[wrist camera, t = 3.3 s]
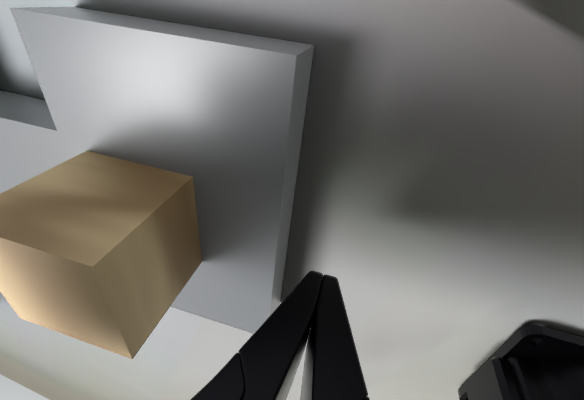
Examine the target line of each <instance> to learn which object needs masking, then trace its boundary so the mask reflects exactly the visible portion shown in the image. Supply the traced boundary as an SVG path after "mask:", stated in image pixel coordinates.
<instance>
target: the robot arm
mask: <svg viewBox="0 0 584 400" xmlns="http://www.w3.org/2000/svg"><path fill="white" fill-rule="evenodd" d="M309 332H310V333H309ZM308 336H309V337H308ZM307 340H308V342H307ZM306 343H307V347H306V354H305V363H304V371H303V380H302V388H301V397H300V400H370V399H369V397H367V395H368V392H367V389H366V385H365V381H364V377H363V373H362V370H361V366H360V362H359V358H358V355H357V351H356V347H355V343H354V339H353V336H352V332H351V328H350V324H349V320H348V317H347V313H346V309H345V305H344V301H343V298H342V294H341V290H340V286H339V283H338V279H337V278H336V277H333V276H330V275H324V276H323V274H322V273H319V272H316V271H310V272H309V273H308V274H307V275H306V276H305V277H304V278H303V279H302V280H301V282H300V283H299V284H298V285H297V286H296V287H295V288H294V289H293V290H292V292H291V293H290V294H289V295H288V296H287V297H286V298H285V299H284V301H283V302H282V303H281V304H280V305H279V306H278V307H277V308H276V310H275V311H274V312H273V313H272V314H271V315H270V316H269V317H268V318H267V320H266V321H265V322H264V323H263V324H262V325H261V326H260V327H259V329H258V330H257V331H256V332H255V333H254V334H253V335H252V336H251V338H250V339H249V340H248V341H247V342H246V343H245V344H244V345H243V347H242V348H241V349H240V350H239V353H236V354H235V355H234V356H233V357H232V359H231V360H230V361H229V362H228V363H227V364H226V365H225V366H224V367H223V368H222V369H221V371H220V372H219V373H218V374H217V375H216V376H215V377H214V378H213V379H212V380H211V381H210V382H209V383H208V384H207V385H206V386H205V387H204V388H202V389H201V390H200V391H199V392H198V393H197V394H196V395H195V396H194V397H193V398H192V399H191V400H286V398H287V395H288V393H289V390H290V387H291V385H292V382H293V379H294V376H295V374H296V371H297V368H298V366H299V363H300V360H301V358H302V355H303V352H304V349H305V346H306ZM458 393H459V399H460V400H584V338H583V337H580V336H576V335H573V334H569V333H565V332H562V331H558V330H555V329H551V328H547V327H544V326H540V325H526V326H523V327H521V328H520V329H518V330H517V331H516V332H515V333H514V334H513V335H512V336H511V337H510V338H509V339H508V340H507V341H506V342H505V343H504V344H503V345H502V346H501V347H500V348H499V349H498V350H497V351H496V352H495V353H494V354H493V355H492V356H491V357H490V358H489V359H488V360H487V361H486V362H485V363H484V364H483V365H482V366H481V367H480V368H479V369H478V370H477V371H476V372H475V373H474V374H473V375H472V376H471V377H470V378H469V379H468V380H467V381H466V382H465V383H464V384H463V385H462V386H461V387H460V388H459V389H458Z"/></svg>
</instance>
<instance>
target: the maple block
mask: <svg viewBox="0 0 584 400" xmlns="http://www.w3.org/2000/svg"><path fill="white" fill-rule="evenodd" d="M201 263H202V257H201V248H200V239H199V230H198V221H197V211H196V202H195V193H194V184H193V177H192V176H188V175H184V174H180V173H176V172H172V171H167V170H163V169H159V168H155V167H151V166H147V165H143V164H139V163H135V162H131V161H127V160H123V159H119V158H115V157H111V156H107V155H103V154H98V153H94V152H90V151H85V152H83V153H81V154H79V155H77V156H75V157H73V158H71V159H69V160H67V161H65V162H63V163H61V164H59V165H57V166H55V167H53V168H51V169H49V170H47V171H45V172H43V173H41V174H39V175H37V176H35V177H33V178H31V179H29V180H27V181H25V182H23V183H21V184H19V185H17V186H15V187H13V188H11V189H9V190H6V191H4V192H2V193H0V292H1V293H2V294H3V296H4V297H5V298H6V300H7V301H8V302H9V304H10V305H11V306H12V308H13V309H14V310H15V312H16V313H17V314H18V316H19V317H20V318H21V319H24V320H27V321H29V322H32V323H35V324H38V325H40V326H43V327H46V328H48V329H51V330H54V331H57V332H59V333H62V334H65V335H68V336H70V337H73V338H76V339H79V340H81V341H84V342H87V343H89V344H92V345H95V346H98V347H100V348H103V349H106V350H109V351H111V352H114V353H117V354H120V355H122V356H125V357H128V358H131V359H133V358H134V356H135V355H136V354H137V352H138V351H139V349H140V348H141V347H142V345H143V344H144V342H145V341H146V340H147V338H148V337H149V335H150V334H151V333H152V331H153V330H154V328H155V327H156V326H157V324H158V323H159V321H160V320H161V319H162V317H163V316H164V314H165V313H166V312H167V310H168V309H169V307H170V306H171V305H172V303H173V302H174V300H175V299H176V298H177V296H178V295H179V293H180V292H181V291H182V289H183V288H184V286H185V285H186V284H187V282H188V281H189V279H190V278H191V277H192V275H193V274H194V272H195V271H196V270H197V268H198V267H199V265H200V264H201Z"/></svg>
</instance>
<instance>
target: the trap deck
mask: <svg viewBox="0 0 584 400" xmlns="http://www.w3.org/2000/svg"><path fill="white" fill-rule="evenodd" d="M10 9H11V12H12V14H13V17H14V20H15V22H16V25H17V27H18V30H19V33H20V35H21V38H22V41H23V43H24V46H25V48H26V51H27V54H28V56H29V59H30V61H31V64H32V67H33V69H34V72H35V74H36V77H37V80H38V82H39V85H40V87H41V90H42V93H43V95H44V98H45V100H42V99H37V98H33V97H28V96H24V95H19V94H15V93H10V92H6V91H1V90H0V193H2V192H4V191H6V190H9V189H11V188H13V187H15V186H17V185H19V184H21V183H23V182H25V181H27V180H29V179H31V178H33V177H35V176H37V175H39V174H41V173H43V172H45V171H47V170H49V169H51V168H53V167H55V166H57V165H59V164H61V163H63V162H65V161H67V160H69V159H71V158H73V157H75V156H77V155H79V154H81V153H83V152H85V151H90V152H94V153H98V154H103V155H107V156H111V157H115V158H119V159H123V160H127V161H131V162H135V163H139V164H143V165H147V166H151V167H155V168H159V169H163V170H167V171H172V172H176V173H180V174H184V175H188V176H192V177H193V184H194V193H195V202H196V211H197V221H198V230H199V239H200V248H201V257H202V263H201V264H200V265H199V267H198V268H197V270H196V271H195V272H194V274H193V275H192V277H191V278H190V279H189V281H188V282H187V284H186V285H185V286H184V288H183V289H182V291H181V292H180V293H179V295H178V296H177V298H176V299H175V300H174V302H173V303H172V305H171V306H170V307H173V308H176V309H180V310H183V311H186V312H189V313H192V314H195V315H198V316H201V317H204V318H207V319H210V320H213V321H216V322H219V323H222V324H225V325H229V326H232V327H235V328H238V329H241V330H244V331H247V332H250V333H253V334H254V333H255V332H256V331H257V330H258V329H259V327H260V326H261V325H262V324H263V323H264V322H265V321H266V320H267V318H268V317H269V316H270V315H271V314H272V313H273V312H274V311H275V310H276V308H277V307H278V306H279V304H280V299H281V292H282V284H283V277H284V269H285V262H286V254H287V247H288V239H289V232H290V224H291V217H292V209H293V202H294V194H295V187H296V179H297V172H298V164H299V157H300V149H301V142H302V134H303V127H304V119H305V112H306V104H307V97H308V89H309V82H310V74H311V67H312V59H313V52H314V45H312V44H305V43H299V42H293V41H286V40H280V39H274V38H267V37H261V36H255V35H248V34H242V33H236V32H229V31H223V30H217V29H211V28H204V27H198V26H192V25H185V24H179V23H173V22H166V21H160V20H154V19H147V18H141V17H135V16H128V15H122V14H116V13H109V12H103V11H97V10H90V9H84V8H78V7H41V8H10Z"/></svg>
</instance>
